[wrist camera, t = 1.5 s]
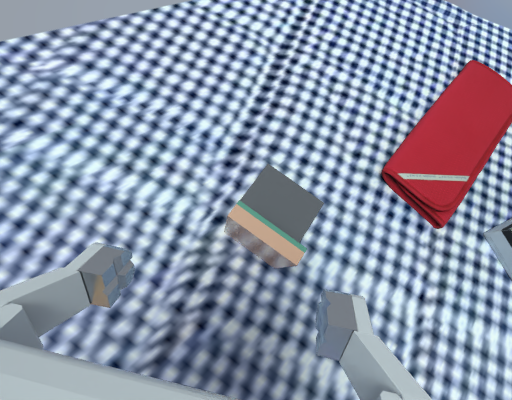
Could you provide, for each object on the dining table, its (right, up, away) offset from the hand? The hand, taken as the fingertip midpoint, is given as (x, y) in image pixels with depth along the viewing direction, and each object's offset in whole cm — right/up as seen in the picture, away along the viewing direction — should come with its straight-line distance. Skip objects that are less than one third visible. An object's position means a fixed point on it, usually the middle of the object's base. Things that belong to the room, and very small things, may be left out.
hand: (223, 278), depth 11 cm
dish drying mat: (+43, +16, +45) cm, 64 cm away
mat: (+5, +2, +34) cm, 34 cm away
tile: (+1, -4, +32) cm, 32 cm away
